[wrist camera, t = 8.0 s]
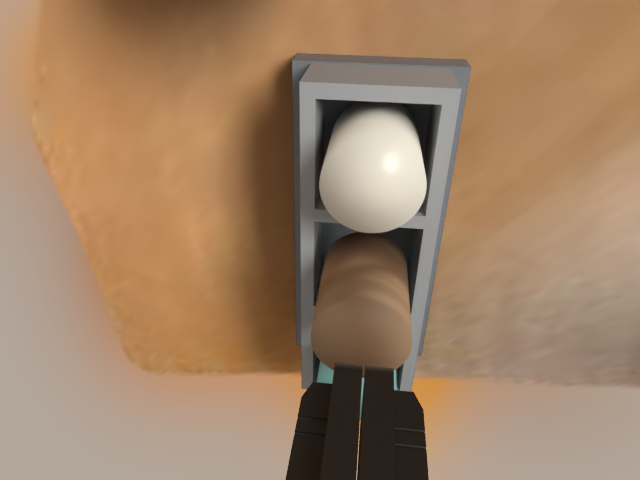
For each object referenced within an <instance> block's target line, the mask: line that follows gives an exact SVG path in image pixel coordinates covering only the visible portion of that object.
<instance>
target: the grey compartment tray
mask: <svg viewBox="0 0 640 480" xmlns="http://www.w3.org/2000/svg"><path fill="white" fill-rule="evenodd" d="M470 71H471V66H470V65H469V64H468V62H467V61H466V60H457V59H430V58H404V57H377V56H351V55H324V54H298V53H297V55H296V56H295V57H294V58H293V60H292V90H293V158H294V225H295V292H296V345H301V362H302V389H308V388H309V386H310V385H311V384H312V382H317V378H318V371H319V365H320V360H319V358H318V357H317V356H316V354H315V353H314V351H313V348H312V345H311V338H310V337H311V329H312V324H313V319H314V313H315V308H316V303H317V298H318V292H319V287H320V282H321V276H322V271H323V266H324V260H325V256H326V254H327V251H328V250H329V248H330V247H331V246H332V245H333V243H335V242H336V241H337V240H338V239H340V238H341V237H343V236H345V235H348V234H351V233H355V232H359V231H355V230H352V229H350V228H348V227H346V226H344V225H342V224H341V223H339V222H338V221H337V220H336V219H334V218H333V217H332V216H331V214H330V213H329V212H328V211H327V209H326V208H325V206H324V204H323V201H322V199H321V195H320V190H319V180H320V174H321V170H322V167H323V163H324V159H325V156H326V152H327V149H328V145H329V141H330V138H331V134H332V131H333V127H334V124H335V122H336V120H337V118H338V116H339V115H340V114H341V112H342V111H343V110H344V109H345V108H346V107H347V106H349V105H350V104H352V103H353V102H355V101H370V102H392V103H400V104H401V105H402V106H404V107H405V108H406V109H407V110H408V111H409V112H410V114H411V115H412V117H413V119H414V120H415V123H416V126H417V130H418V135H419V141H420V146H421V152H422V157H423V163H424V168H425V174H426V182H427V187H426V194H425V198H424V201H423V203H422V205H421V207H420V209H419V210H418V211H417V213H416V214H415V215H414V216H413V217H412V218H411V219H410V220H409V221H408V222H406V223H405V224H403V225H402V226H400V227H398V228H396V229H393V230H390V231H387V232H382V233H378V234H381V235H384V236H386V237H388V238H389V239H391V240H392V241H394V242H395V243H396V244H397V245H398V246H399V247H400V248H401V250H402V251H403V253H404V255H405V258H406V262H407V274H408V288H409V302H410V316H411V330H412V349H411V352H410V355H409V357H408V358H407V360H406V361H405V362H404V363H403V364H402V365H401V366H400V367H399V368H397V369H396V384H397V390H399V391H409V392H411V390H412V384H413V378H414V372H415V366H416V360H417V356H421V355H422V349H423V343H424V337H425V331H426V326H427V320H428V314H429V308H430V302H431V297H432V291H433V285H434V279H435V274H436V268H437V262H438V256H439V250H440V245H441V239H442V233H443V227H444V221H445V216H446V210H447V204H448V198H449V192H450V187H451V181H452V175H453V169H454V163H455V158H456V152H457V146H458V140H459V134H460V129H461V123H462V117H463V111H464V105H465V100H466V94H467V88H468V82H469V76H470Z"/></svg>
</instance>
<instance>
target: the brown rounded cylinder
mask: <svg viewBox="0 0 640 480" xmlns="http://www.w3.org/2000/svg"><path fill="white" fill-rule="evenodd" d="M310 338H311V345H312V348H313V351H314V353H315V354H316V356H317V357H318V358H319V360H320V361H321V362H322V363H323V364H325V365H326V366H327V367H329V368H330V369H332V370H334V367H335V363H343V364H354V365H363V372H362V378H364V375H365V366H375V367H385V368H393V369H394V370H396V369H397V368H399V367H400V366H401V365H402V364H403V363H404V362H405V361H406V360H407V358H408V357H409V355H410V352H411V349H412V330H411V316H410V302H409V288H408V274H407V262H406V258H405V255H404V253H403V251H402V250H401V248H400V247H399V246H398V245H397V244H396V243H395V242H394V241H392V240H391V239H389V238H388V237H386V236H384V235H381V234H378V233H364V232H355V233H351V234H348V235H345V236H343V237H341V238H340V239H338V240H337V241H336V242H335V243H333V245H332V246H331V247H330V248H329V250H328V251H327V254H326V256H325V260H324V266H323V271H322V276H321V282H320V287H319V292H318V298H317V303H316V308H315V313H314V319H313V324H312V329H311V337H310Z"/></svg>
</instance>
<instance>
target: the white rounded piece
mask: <svg viewBox="0 0 640 480" xmlns="http://www.w3.org/2000/svg"><path fill="white" fill-rule="evenodd" d="M426 187H427V182H426V174H425V168H424V163H423V157H422V152H421V146H420V141H419V135H418V130H417V126H416V123H415V120H414V119H413V117H412V115H411V114H410V112H409V111H408V110H407V109H406V108H405V107H404V106H402V105H401V104H400V103H392V102H370V101H355V102H353V103H352V104H350V105H349V106H347V107H346V108H345V109H344V110H343V111H342V112H341V114H340V115H339V116H338V118H337V120H336V122H335V124H334V127H333V131H332V134H331V138H330V141H329V145H328V149H327V152H326V156H325V159H324V163H323V167H322V170H321V174H320V180H319V190H320V195H321V199H322V201H323V204H324V206H325V208H326V209H327V211H328V212H329V213H330V214H331V216H332V217H333V218H334V219H336V220H337V221H338V222H339V223H341V224H342V225H344V226H346V227H348V228H350V229H352V230H355V231H359V232H364V233H382V232H387V231H390V230H393V229H396V228H398V227H400V226H402V225H403V224H405V223H406V222H408V221H409V220H410V219H411V218H412V217H413V216H414V215H415V214H416V213H417V211H418V210H419V209H420V207H421V205H422V203H423V201H424V198H425V194H426Z"/></svg>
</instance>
